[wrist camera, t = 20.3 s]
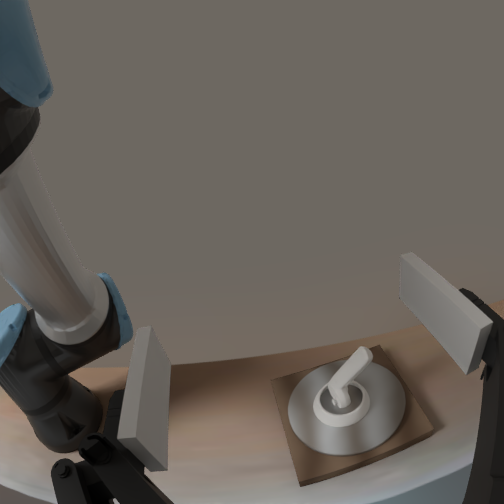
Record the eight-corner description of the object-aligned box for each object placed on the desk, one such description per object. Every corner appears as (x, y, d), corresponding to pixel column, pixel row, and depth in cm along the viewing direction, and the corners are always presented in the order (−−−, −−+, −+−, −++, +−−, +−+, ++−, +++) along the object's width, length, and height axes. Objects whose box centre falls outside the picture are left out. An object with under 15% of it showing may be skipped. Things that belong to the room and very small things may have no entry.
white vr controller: (417, 377, 33) (383, 383, 29) (358, 430, 38) (321, 439, 35) (386, 334, 39) (351, 333, 35) (337, 390, 44) (300, 393, 40)
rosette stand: (300, 486, 31) (297, 479, 30) (273, 387, 47) (269, 376, 46) (431, 436, 32) (435, 424, 31) (378, 353, 48) (379, 340, 47)
